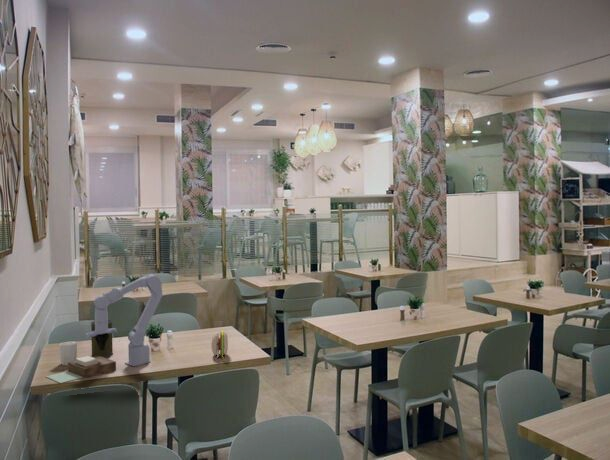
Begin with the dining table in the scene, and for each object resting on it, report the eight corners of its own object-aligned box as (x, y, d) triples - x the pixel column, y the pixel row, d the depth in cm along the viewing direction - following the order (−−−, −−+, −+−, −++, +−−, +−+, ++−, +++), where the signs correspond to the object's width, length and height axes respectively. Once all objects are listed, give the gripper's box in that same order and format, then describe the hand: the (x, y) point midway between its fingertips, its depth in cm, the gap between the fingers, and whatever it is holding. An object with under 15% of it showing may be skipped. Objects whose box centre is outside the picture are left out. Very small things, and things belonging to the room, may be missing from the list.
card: (88, 360, 245) (88, 355, 245) (97, 363, 239) (97, 359, 239) (75, 362, 240) (75, 358, 240) (85, 366, 234) (85, 362, 234)
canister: (114, 356, 265) (113, 317, 265) (92, 359, 260) (92, 319, 260) (111, 351, 275) (110, 314, 274) (90, 354, 270) (89, 316, 269)
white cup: (60, 366, 248) (59, 346, 247) (59, 362, 255) (58, 342, 254) (78, 364, 252) (77, 344, 251) (76, 360, 258) (76, 340, 258)
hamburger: (212, 352, 271) (211, 330, 271) (228, 352, 272) (227, 329, 272) (211, 359, 259) (210, 335, 259) (227, 358, 261) (227, 334, 260)
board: (98, 363, 252) (98, 355, 252) (116, 369, 242) (115, 361, 242) (68, 371, 241) (67, 362, 241) (85, 377, 231) (84, 369, 230)
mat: (68, 371, 240) (68, 371, 240) (82, 377, 231) (82, 377, 231) (46, 377, 232) (46, 376, 232) (60, 383, 223) (60, 382, 223)
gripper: (111, 318, 253) (111, 345, 253) (82, 322, 242) (82, 351, 242) (118, 319, 248) (119, 347, 249) (89, 324, 237) (90, 354, 237)
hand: (101, 350), depth 245 cm, fingers closed
